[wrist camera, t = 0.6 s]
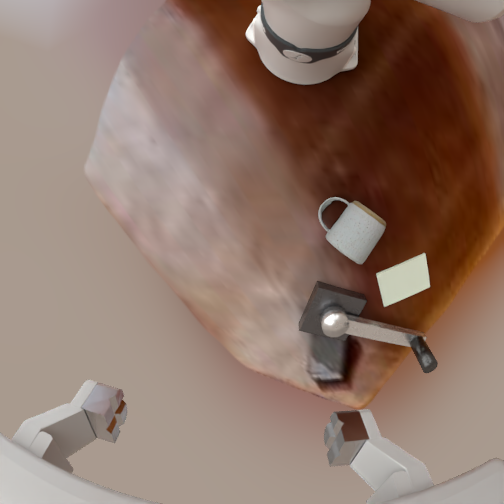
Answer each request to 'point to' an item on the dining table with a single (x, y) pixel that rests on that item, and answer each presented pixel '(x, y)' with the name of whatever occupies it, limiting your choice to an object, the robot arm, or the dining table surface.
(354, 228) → the ceramic mug
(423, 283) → the mat
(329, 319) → the lever arm
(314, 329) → the lever base
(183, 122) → the dining table surface
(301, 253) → the dining table surface
